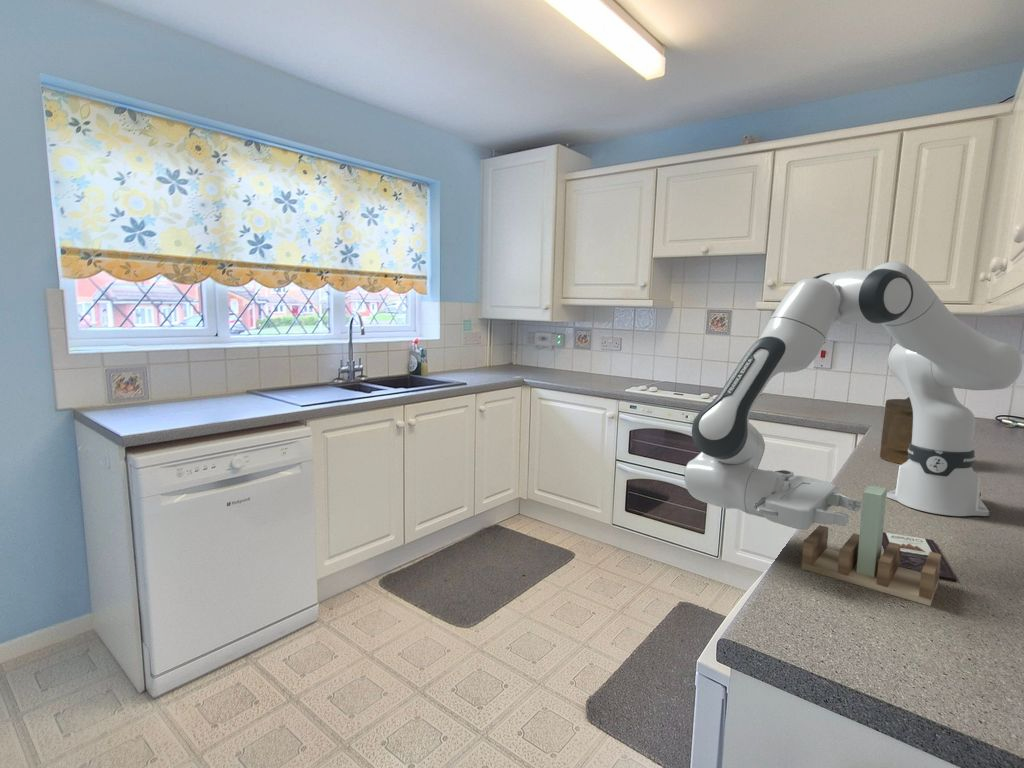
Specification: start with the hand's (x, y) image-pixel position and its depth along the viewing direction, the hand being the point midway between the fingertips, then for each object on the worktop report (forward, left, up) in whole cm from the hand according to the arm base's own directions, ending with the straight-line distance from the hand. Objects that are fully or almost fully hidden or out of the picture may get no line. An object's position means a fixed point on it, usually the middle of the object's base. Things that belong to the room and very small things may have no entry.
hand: (854, 513), depth 92 cm
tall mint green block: (0, +3, -9) cm, 10 cm away
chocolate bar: (-15, +7, -11) cm, 20 cm away
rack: (0, +3, -10) cm, 11 cm away
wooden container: (-97, -4, -11) cm, 98 cm away
